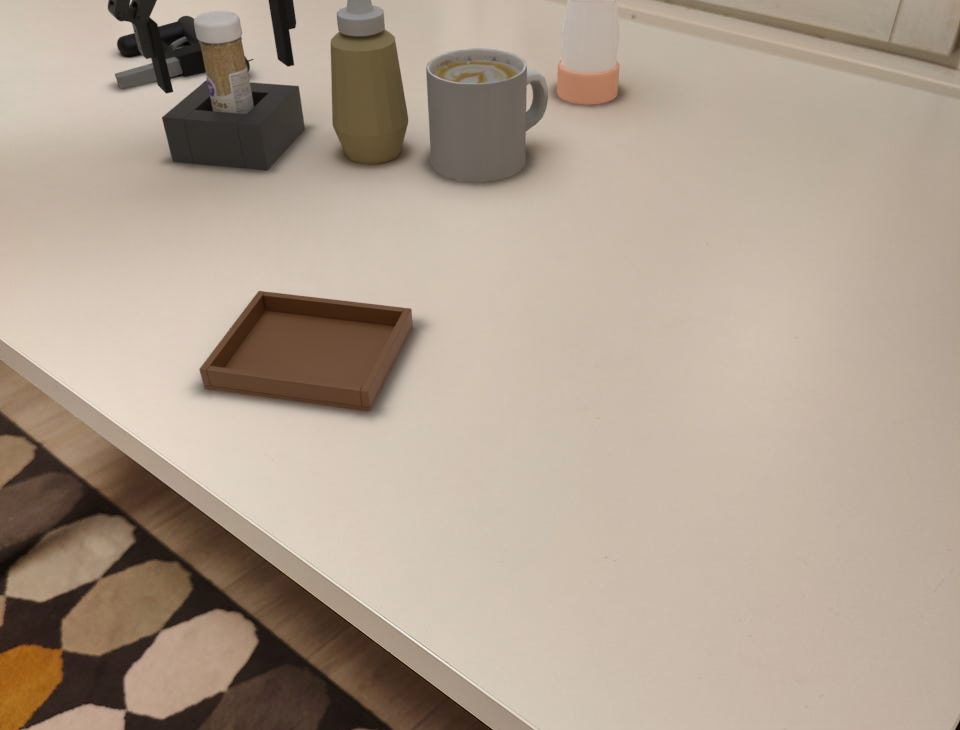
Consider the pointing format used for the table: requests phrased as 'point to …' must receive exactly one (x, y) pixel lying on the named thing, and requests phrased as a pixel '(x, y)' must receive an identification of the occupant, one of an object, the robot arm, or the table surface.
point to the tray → (309, 350)
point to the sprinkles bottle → (224, 61)
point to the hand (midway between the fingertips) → (227, 75)
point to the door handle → (166, 54)
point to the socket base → (235, 128)
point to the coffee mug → (481, 113)
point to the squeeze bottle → (367, 85)
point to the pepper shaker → (589, 52)
